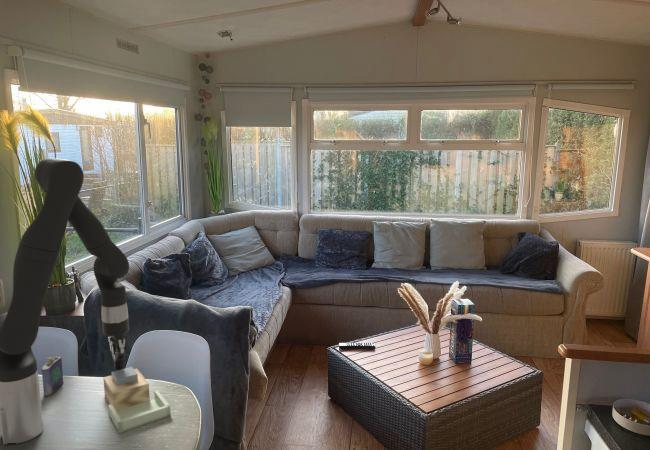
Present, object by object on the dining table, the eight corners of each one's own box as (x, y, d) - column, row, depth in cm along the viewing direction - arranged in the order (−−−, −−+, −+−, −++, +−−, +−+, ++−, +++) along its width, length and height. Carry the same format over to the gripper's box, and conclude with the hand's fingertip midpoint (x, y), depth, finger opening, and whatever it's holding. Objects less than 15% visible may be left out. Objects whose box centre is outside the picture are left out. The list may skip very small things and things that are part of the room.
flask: (50, 396, 145) (47, 363, 144) (40, 396, 145) (37, 364, 143) (65, 381, 154) (62, 350, 153) (56, 381, 154) (53, 350, 153)
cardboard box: (114, 413, 137) (113, 393, 136) (104, 395, 146) (103, 377, 145) (149, 401, 143) (148, 383, 142) (138, 385, 152) (137, 368, 151)
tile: (116, 386, 140) (116, 379, 140) (111, 378, 145) (111, 372, 144) (137, 380, 143) (137, 374, 143) (132, 372, 148) (131, 366, 148)
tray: (119, 433, 127) (118, 423, 127) (109, 414, 136) (108, 405, 135) (170, 415, 135) (170, 406, 135) (158, 399, 144) (157, 390, 144)
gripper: (97, 314, 149) (101, 365, 152) (107, 326, 139) (111, 381, 141) (122, 309, 153) (125, 359, 156) (134, 321, 143) (137, 374, 146)
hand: (118, 369), depth 149 cm, fingers closed
